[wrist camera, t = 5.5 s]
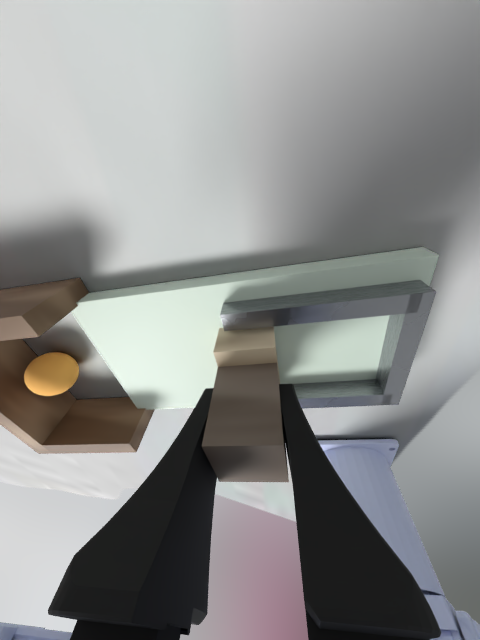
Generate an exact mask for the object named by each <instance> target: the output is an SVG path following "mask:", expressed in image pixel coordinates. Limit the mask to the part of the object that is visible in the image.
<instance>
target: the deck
mask: <svg viewBox="0 0 480 640" xmlns="http://www.w3.org/2000/svg"><path fill="white" fill-rule="evenodd" d="M438 258H439V255H438V254H436V253H434V252H432V251H430V250H428V249H426V248H425V247H419V248H411V249H404V250H397V251H390V252H382V253H375V254H368V255H361V256H353V257H346V258H339V259H332V260H324V261H317V262H310V263H302V264H295V265H288V266H281V267H273V268H266V269H259V270H252V271H244V272H237V273H230V274H223V275H215V276H208V277H201V278H193V279H186V280H179V281H172V282H164V283H157V284H150V285H143V286H135V287H128V288H121V289H113V290H106V291H99V292H92V293H88V294H87V295H86V296H84V297H83V298H82V299H80V300H79V301H78V302H77V303H76V304H77V305H78V306H77V307H76V308H75V309H74V310H72V311H71V313H72V315H73V316H74V318H75V319H76V320H77V322H78V323H79V325H80V326H81V328H82V329H83V331H84V332H85V333H86V335H87V336H88V338H89V339H90V341H91V342H92V344H93V345H94V347H95V348H96V349H97V351H98V352H99V354H100V355H101V357H102V358H103V360H104V361H105V362H106V364H107V365H108V367H109V368H110V370H111V371H112V373H113V374H114V375H115V377H116V378H117V380H118V381H119V383H120V384H121V386H122V387H123V388H124V390H125V391H126V393H127V394H128V396H129V397H130V399H131V400H132V401H133V403H134V404H135V406H136V407H137V409H141V408H146V410H153V409H176V408H195V406H196V405H197V403H198V401H199V399H200V397H201V395H202V393H203V391H204V390H205V389H206V388H214V383H215V379H216V374H217V369H218V366H217V363H216V359H215V356H214V353H213V351H214V347H215V343H216V339H217V335H218V331H219V328H223V325H222V321H221V317H220V313H221V309H222V306H223V303H226V302H234V301H243V300H251V299H260V298H268V297H277V296H285V295H294V294H302V293H311V292H319V291H328V290H337V289H345V288H354V287H362V286H371V285H379V284H388V283H396V282H405V281H413V280H421V281H423V282H424V283H425V284H427V285H428V286H429V287H430V283H431V280H432V277H433V274H434V271H435V267H436V264H437V261H438ZM389 316H390V315H387V316H376V317H366V318H356V319H346V320H335V321H325V322H315V323H305V324H294V325H284V326H274V334H275V343H276V351H277V360H278V369H279V377H280V384H300V383H317V382H334V381H352V380H369V379H376V374H377V370H378V365H379V361H380V356H381V352H382V347H383V343H384V338H385V334H386V329H387V325H388V320H389Z"/></svg>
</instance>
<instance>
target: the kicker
mask: <svg viewBox="0 0 480 640" xmlns="http://www.w3.org/2000/svg"><path fill="white" fill-rule="evenodd" d="M213 353H214V356H215V359H216V363H217V366H218V369H217V374H216V379H215V383H214V388H213V393H212V398H211V403H210V408H209V413H208V418H207V422H206V427H205V432H204V437H203V442H202V448H203V450H204V452H205V454H206V456H207V458H208V460H209V462H210V464H211V466H212V468H213V470H214V472H215V474H216V476H217V477H218V479H219V481H220V482H289V480H288V469H287V457H286V446H285V436H284V428H283V420H282V412H281V404H280V391H279V384H280V377H279V369H278V360H277V351H276V343H275V334H274V327H264V328H253V329H243V330H233V331H224V328H219V331H218V335H217V339H216V343H215V347H214V351H213Z"/></svg>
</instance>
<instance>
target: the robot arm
mask: <svg viewBox="0 0 480 640" xmlns="http://www.w3.org/2000/svg"><path fill="white" fill-rule="evenodd" d="M279 391H280V404H281V412H282V420H283V428H284V436H285V443H286V448H287V454H288V460H289V465H290V471H291V477H292V482H293V491H294V501H295V511H296V521H297V530H298V541H299V551H300V562H301V572H302V581H303V592H304V601H305V609H306V619H307V628H308V638H309V640H480V625H479V624H478V623H477V622H476V621H475V620H472V618H471V617H470V615H469V614H468V613H467V612H465V611H455V609H454V607H453V606H452V605H451V604H450V602H449V601H447V599H446V598H445V595H444V592H443V590H442V588H441V586H440V583H439V581H438V578H437V576H436V574H435V572H434V569H433V567H432V564H431V562H430V560H429V557H428V555H427V552H426V550H425V548H424V545H423V543H422V541H421V538H420V536H419V534H418V531H417V529H416V527H415V524H414V522H413V520H412V517H411V515H410V512H409V510H408V508H407V505H406V503H405V501H404V498H403V496H402V494H401V491H400V489H399V487H398V484H397V482H396V479H395V477H394V475H393V473H392V470H391V468H390V467H391V465H392V462H393V460H394V457H395V455H396V452H397V450H398V447H399V443H398V441H397V440H395V439H367V440H317V439H316V437H315V435H314V433H313V431H312V429H311V427H310V425H309V423H308V421H307V419H306V417H305V415H304V413H303V410H302V408H301V406H300V403H299V401H298V398H297V395H296V392H295V388H294V385H293V384H279ZM212 393H213V388H206V389H205V390H204V391H203V393H202V395H201V397H200V399H199V401H198V403H197V405H196V406H195V408H194V410H193V412H192V413H191V415H190V417H189V418H188V420H187V422H186V423H185V425H184V427H183V428H182V430H181V432H180V433H179V435H178V436H177V438H176V439H175V441H174V442H173V444H172V445H171V447H170V448H169V450H168V451H167V453H166V454H165V455H164V457H163V458H162V459H161V461H160V462H159V463H158V465H157V466H156V467H155V469H154V470H153V471H152V473H151V474H150V475H149V476H148V477H147V479H146V480H145V481H144V482H143V484H142V485H141V486H140V487H139V488H138V490H137V491H136V492H135V493H134V494H133V495H132V497H131V498H130V499H129V500H128V501H127V502H126V503H125V504H124V505H123V506H122V508H121V509H120V510H119V511H118V512H117V513H116V514H115V515H114V516H113V517H112V518H111V520H110V521H108V523H107V524H106V525H105V526H104V527H103V528H102V529H101V530H100V531H99V532H98V533H97V534H96V535H95V536H93V538H91V539H90V540H89V541H88V542H87V543H86V545H84V547H82V548H81V549H80V550H79V552H77V553H76V554H75V555H74V557H73V559H72V561H71V563H70V565H69V566H68V568H67V570H66V572H65V575H64V577H63V579H62V581H61V583H60V586H59V588H58V590H57V592H56V594H55V596H54V599H53V601H52V603H51V605H50V607H49V609H48V614H49V615H53V616H59V617H65V618H70V619H76V620H77V623H76V625H75V628H74V630H73V633H71V632H62V631H55V630H47V629H45V628H41V627H33V626H25V625H17V624H9V623H1V622H0V640H179V639H180V634H184V635H189V633H190V627H191V624H195V625H199V624H200V623H201V622H202V621H203V619H204V618H205V617H206V615H207V606H208V582H209V562H210V561H209V560H210V544H211V530H212V517H213V506H214V495H215V487H216V480H217V476H216V474H215V472H214V470H213V468H212V466H211V464H210V462H209V460H208V458H207V456H206V454H205V452H204V450H203V448H202V442H203V437H204V432H205V427H206V422H207V418H208V413H209V408H210V403H211V398H212Z"/></svg>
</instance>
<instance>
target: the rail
mask: <svg viewBox="0 0 480 640" xmlns="http://www.w3.org/2000/svg"><path fill="white" fill-rule="evenodd" d="M435 294H436V291H435V290H433V289H432V288H431V287H429V286H428V285H427V284H425V283H424V282H423V281H421V280H413V281H405V282H396V283H388V284H379V285H371V286H362V287H354V288H345V289H337V290H328V291H319V292H311V293H302V294H294V295H285V296H277V297H268V298H260V299H251V300H243V301H234V302H226V303H223V306H222V309H221V313H220V317H221V321H222V325H223V328H224V331H233V330H243V329H253V328H264V327H274V326H284V325H294V324H305V323H315V322H325V321H335V320H346V319H356V318H366V317H376V316H387V315H390V316H389V320H388V325H387V329H386V334H385V338H384V343H383V347H382V352H381V356H380V361H379V365H378V370H377V374H376V379H369V380H352V381H334V382H317V383H300V384H293V385H294V388H295V392H296V395H297V398H298V401H299V403H300V406H301V408H324V407H348V406H372V405H397V404H399V402H400V399H401V396H402V393H403V390H404V387H405V384H406V381H407V378H408V375H409V372H410V369H411V366H412V363H413V360H414V357H415V354H416V351H417V348H418V345H419V342H420V339H421V336H422V333H423V330H424V327H425V324H426V321H427V318H428V315H429V312H430V309H431V306H432V303H433V300H434V297H435Z"/></svg>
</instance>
